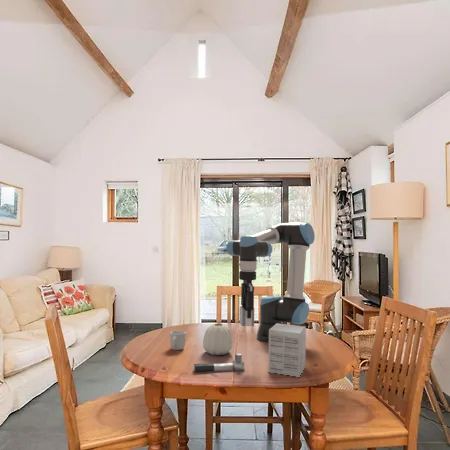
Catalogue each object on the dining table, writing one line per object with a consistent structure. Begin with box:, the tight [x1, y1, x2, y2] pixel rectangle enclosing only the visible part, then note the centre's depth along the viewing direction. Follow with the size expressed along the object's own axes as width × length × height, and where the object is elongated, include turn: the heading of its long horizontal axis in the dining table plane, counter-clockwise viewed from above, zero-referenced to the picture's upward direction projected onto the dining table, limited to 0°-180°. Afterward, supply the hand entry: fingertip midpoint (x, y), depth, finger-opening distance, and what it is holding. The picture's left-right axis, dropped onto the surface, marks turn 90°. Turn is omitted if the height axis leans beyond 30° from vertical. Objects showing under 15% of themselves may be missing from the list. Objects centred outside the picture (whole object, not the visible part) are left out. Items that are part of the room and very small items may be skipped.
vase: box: [202, 323, 233, 356], centre depth 170 cm, size 14×14×13 cm
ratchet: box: [193, 353, 245, 373], centre depth 147 cm, size 21×5×6 cm, turn 101°
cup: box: [169, 329, 187, 351], centre depth 174 cm, size 11×8×8 cm
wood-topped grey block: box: [238, 305, 255, 327], centre depth 156 cm, size 5×5×8 cm
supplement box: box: [267, 323, 307, 378], centre depth 149 cm, size 13×13×18 cm
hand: (246, 323), depth 156 cm, fingers closed on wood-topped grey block, 5 cm apart
